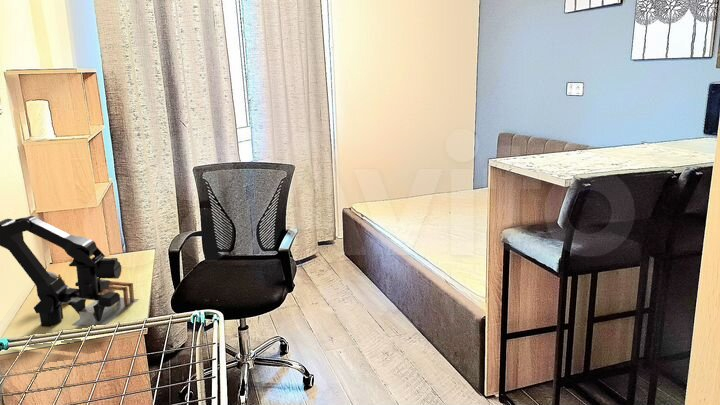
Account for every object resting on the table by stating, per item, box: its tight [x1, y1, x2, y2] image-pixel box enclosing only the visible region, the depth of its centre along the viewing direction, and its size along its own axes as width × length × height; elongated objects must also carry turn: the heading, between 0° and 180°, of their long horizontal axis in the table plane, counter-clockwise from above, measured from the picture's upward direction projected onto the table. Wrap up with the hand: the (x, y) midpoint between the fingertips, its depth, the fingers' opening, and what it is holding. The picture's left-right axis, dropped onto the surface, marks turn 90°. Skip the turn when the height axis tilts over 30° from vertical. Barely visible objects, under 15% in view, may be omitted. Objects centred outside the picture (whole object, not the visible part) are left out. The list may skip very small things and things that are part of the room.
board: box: [71, 296, 140, 328], centre depth 181 cm, size 22×11×1 cm, turn 172°
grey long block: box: [78, 293, 121, 327], centre depth 177 cm, size 15×5×5 cm, turn 172°
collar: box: [103, 285, 129, 306], centre depth 185 cm, size 1×9×7 cm, turn 82°
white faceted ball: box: [47, 271, 71, 306], centre depth 185 cm, size 8×10×12 cm
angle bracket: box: [109, 280, 135, 302], centre depth 188 cm, size 1×9×7 cm, turn 82°
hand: (92, 320), depth 173 cm, fingers closed on grey long block, 5 cm apart
